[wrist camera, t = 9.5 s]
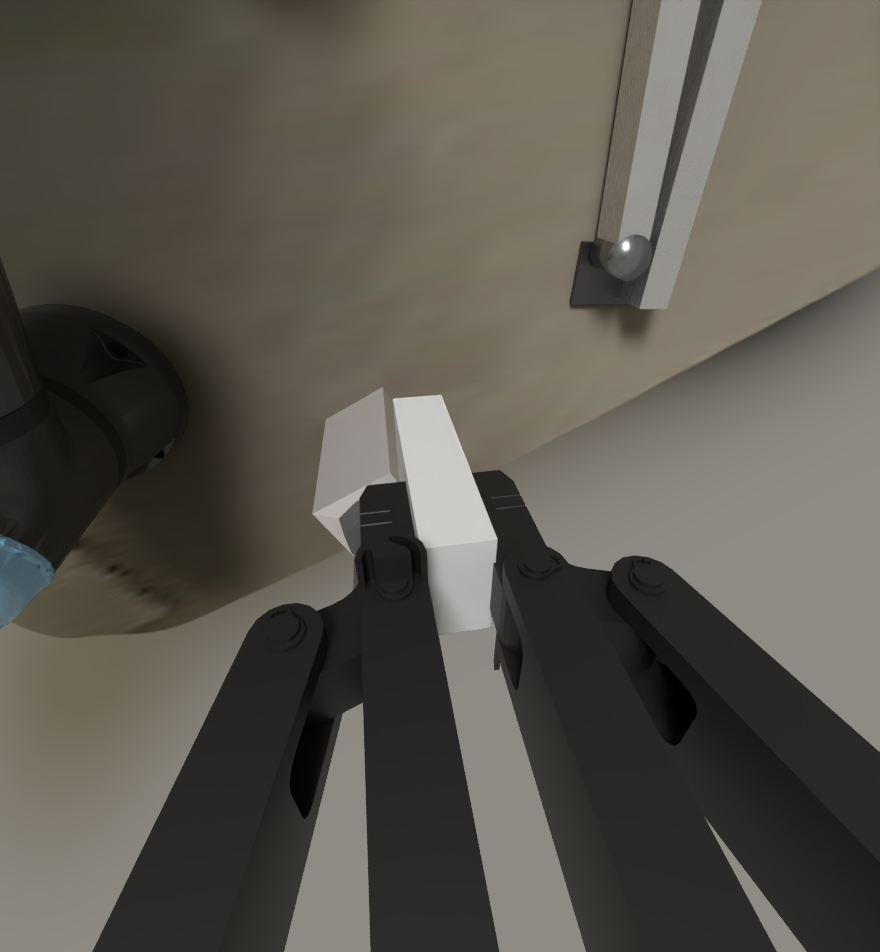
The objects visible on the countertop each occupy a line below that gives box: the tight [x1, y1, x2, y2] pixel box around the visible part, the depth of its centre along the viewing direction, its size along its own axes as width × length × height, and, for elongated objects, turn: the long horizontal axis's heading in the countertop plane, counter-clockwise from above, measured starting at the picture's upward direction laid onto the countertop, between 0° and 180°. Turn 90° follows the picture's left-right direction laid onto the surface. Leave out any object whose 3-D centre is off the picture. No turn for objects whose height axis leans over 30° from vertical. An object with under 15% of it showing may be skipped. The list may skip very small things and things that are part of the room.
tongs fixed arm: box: [570, 0, 762, 309], centre depth 32 cm, size 8×27×4 cm, turn 178°
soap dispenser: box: [313, 387, 400, 590], centre depth 36 cm, size 6×9×22 cm
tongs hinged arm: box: [591, 0, 701, 281], centre depth 30 cm, size 3×24×4 cm, turn 2°
